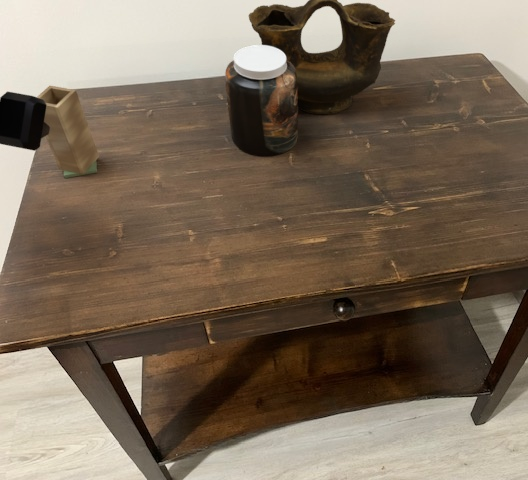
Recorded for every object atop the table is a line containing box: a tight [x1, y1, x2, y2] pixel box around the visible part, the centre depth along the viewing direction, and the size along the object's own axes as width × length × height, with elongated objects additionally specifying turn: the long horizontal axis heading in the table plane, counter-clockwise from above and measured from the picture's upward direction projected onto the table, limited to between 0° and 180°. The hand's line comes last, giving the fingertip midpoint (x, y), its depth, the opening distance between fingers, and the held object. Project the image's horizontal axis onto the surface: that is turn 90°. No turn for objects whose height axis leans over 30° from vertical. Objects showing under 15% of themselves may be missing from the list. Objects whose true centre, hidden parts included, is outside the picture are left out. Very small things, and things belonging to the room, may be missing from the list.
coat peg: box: [63, 160, 98, 179], centre depth 86 cm, size 5×5×4 cm
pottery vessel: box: [248, 0, 396, 115], centre depth 95 cm, size 25×11×20 cm, turn 98°
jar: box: [224, 44, 299, 157], centre depth 89 cm, size 12×12×15 cm
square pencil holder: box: [36, 85, 100, 174], centre depth 82 cm, size 5×4×12 cm
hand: (18, 124), depth 72 cm, fingers open, 9 cm apart
